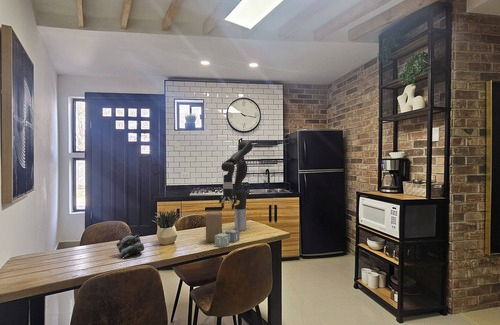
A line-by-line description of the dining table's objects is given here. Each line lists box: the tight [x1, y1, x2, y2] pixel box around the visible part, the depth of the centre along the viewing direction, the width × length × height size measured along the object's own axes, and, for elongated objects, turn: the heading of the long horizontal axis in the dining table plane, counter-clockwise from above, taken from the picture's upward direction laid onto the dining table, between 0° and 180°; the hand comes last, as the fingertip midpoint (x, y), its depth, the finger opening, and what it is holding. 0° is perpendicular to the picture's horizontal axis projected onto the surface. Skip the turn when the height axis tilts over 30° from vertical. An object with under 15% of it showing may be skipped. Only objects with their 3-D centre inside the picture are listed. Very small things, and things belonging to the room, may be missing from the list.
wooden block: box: [205, 211, 223, 243], centre depth 209 cm, size 10×10×20 cm
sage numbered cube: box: [214, 232, 230, 248], centre depth 198 cm, size 7×7×7 cm
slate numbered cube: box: [225, 229, 240, 244], centre depth 208 cm, size 7×7×7 cm
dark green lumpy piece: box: [115, 233, 145, 259], centre depth 181 cm, size 15×12×14 cm
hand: (227, 208), depth 227 cm, fingers open, 8 cm apart
